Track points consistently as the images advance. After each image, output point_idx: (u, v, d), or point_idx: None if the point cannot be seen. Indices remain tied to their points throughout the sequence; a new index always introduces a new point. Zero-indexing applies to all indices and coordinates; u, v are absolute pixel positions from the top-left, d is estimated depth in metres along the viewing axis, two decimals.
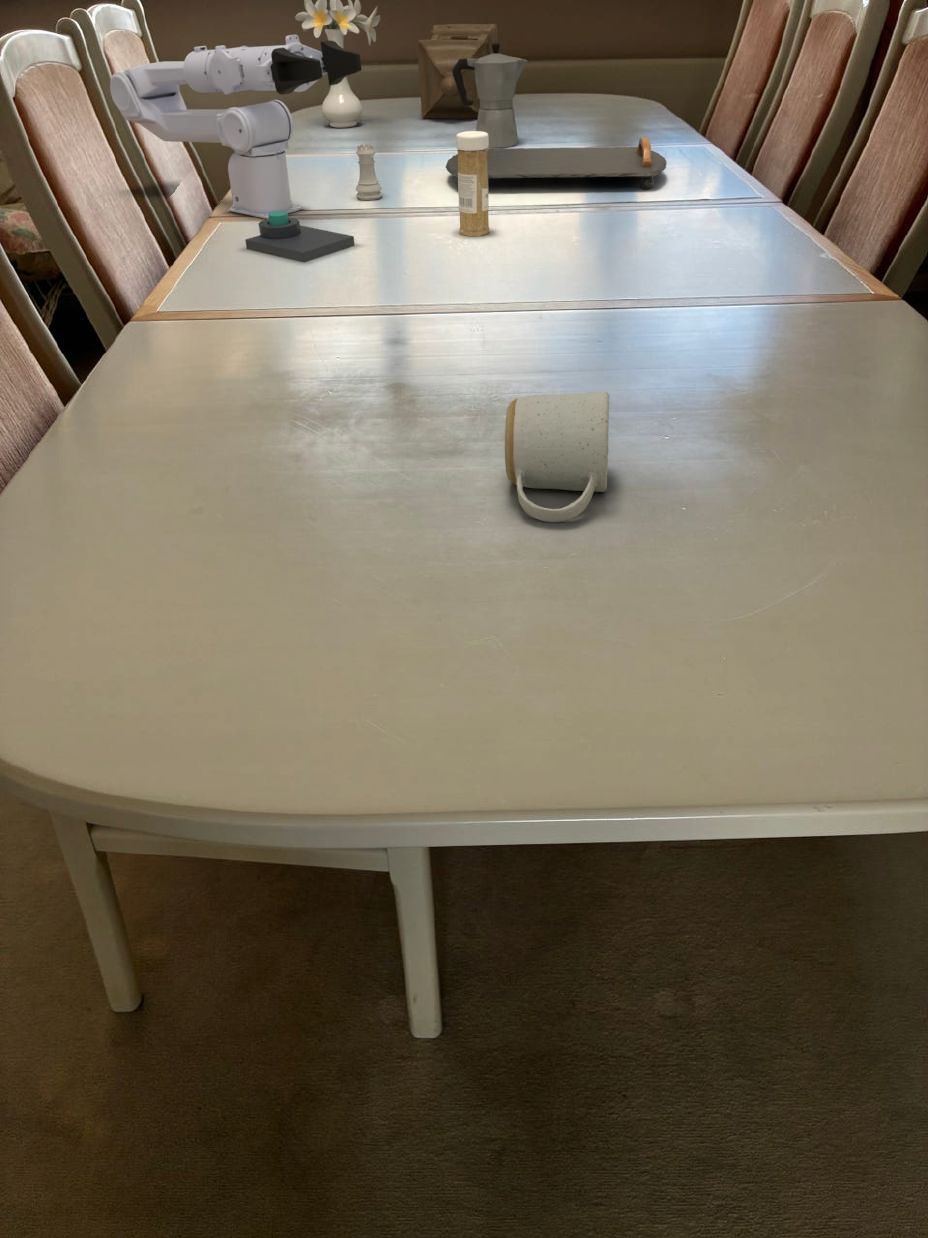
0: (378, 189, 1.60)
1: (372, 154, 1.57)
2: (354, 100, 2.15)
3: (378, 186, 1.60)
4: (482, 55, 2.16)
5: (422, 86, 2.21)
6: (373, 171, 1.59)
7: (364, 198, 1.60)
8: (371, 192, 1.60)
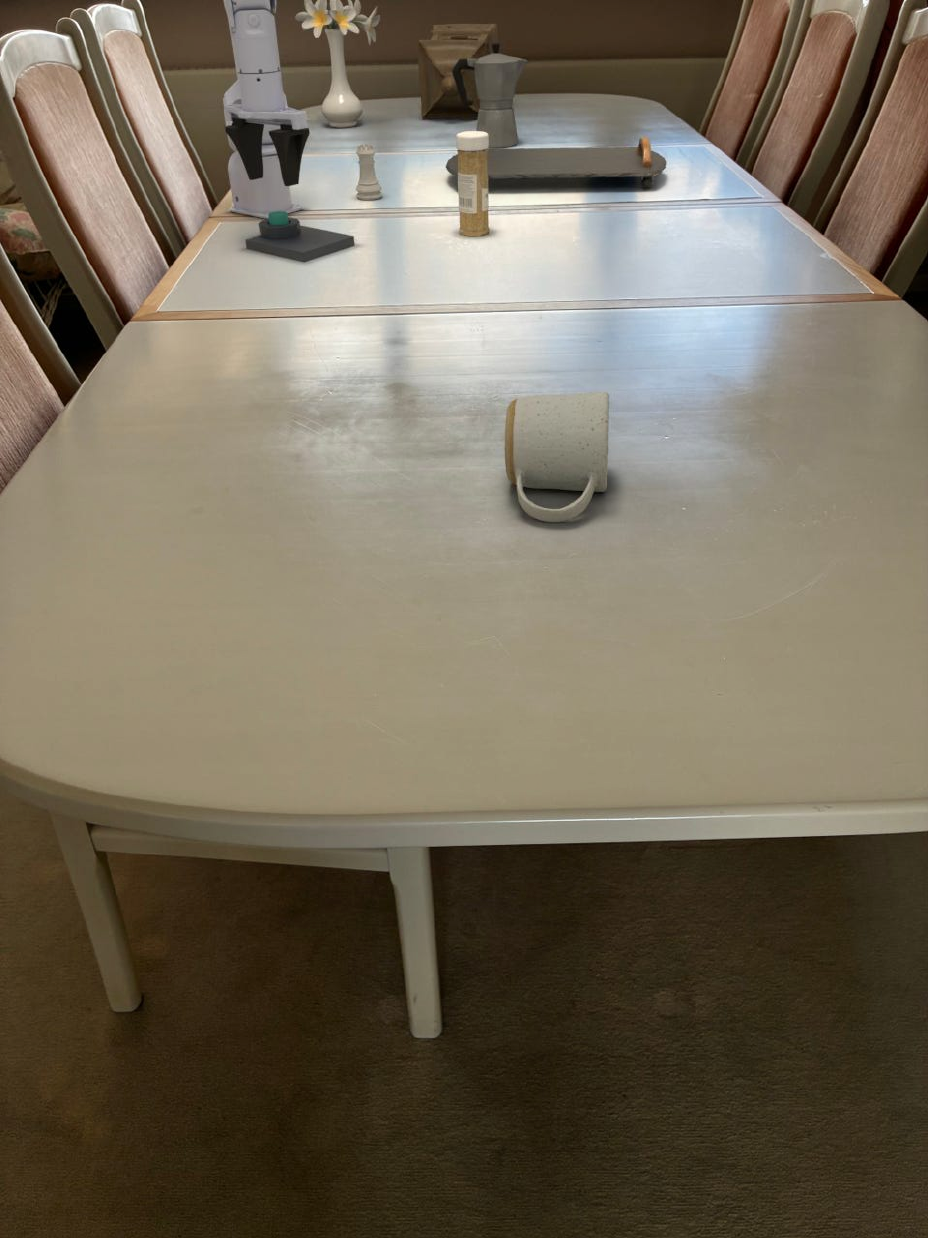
0: (378, 189, 1.60)
1: (372, 154, 1.57)
2: (354, 100, 2.15)
3: (378, 186, 1.60)
4: (482, 55, 2.16)
5: (422, 86, 2.21)
6: (373, 171, 1.59)
7: (364, 198, 1.60)
8: (371, 192, 1.60)
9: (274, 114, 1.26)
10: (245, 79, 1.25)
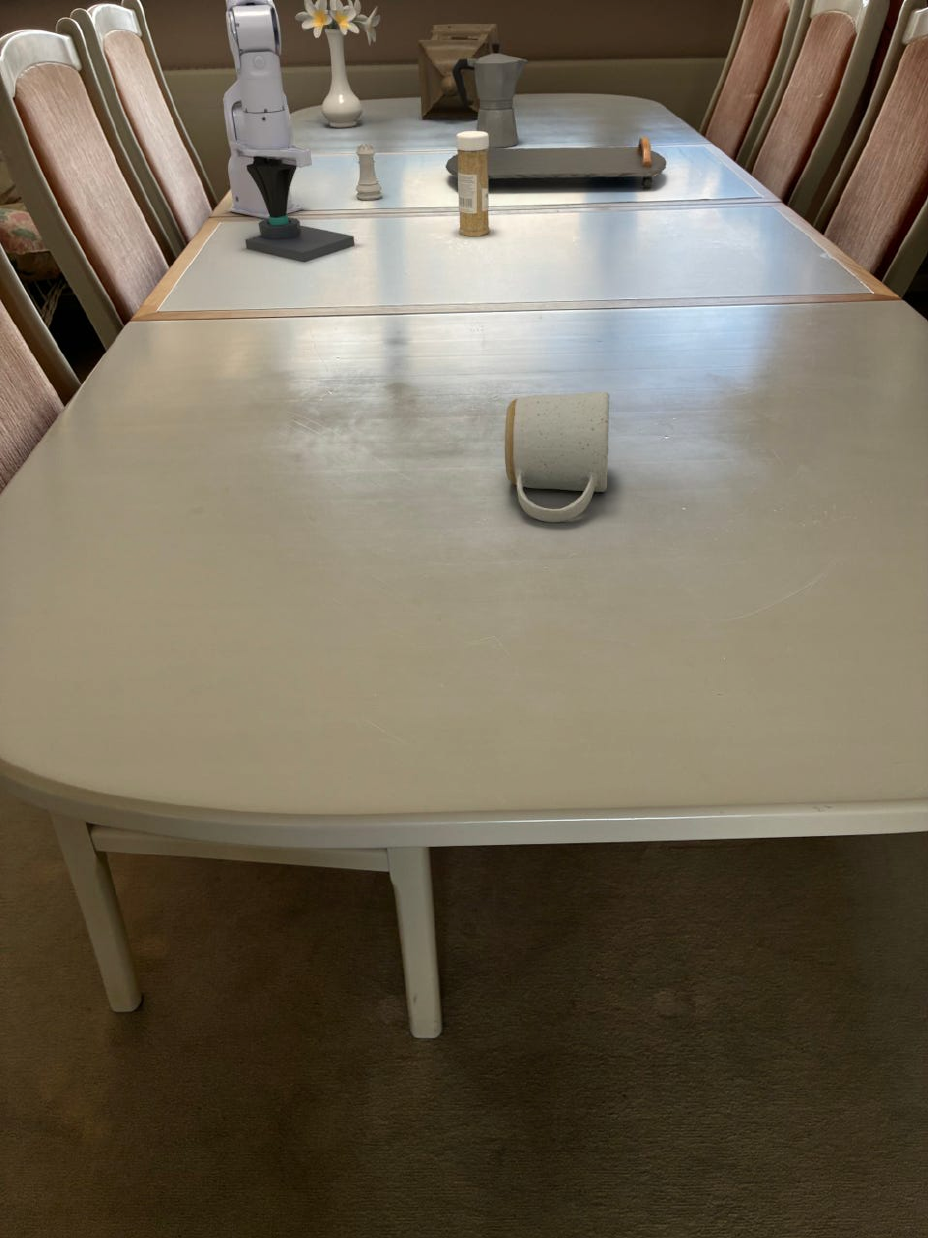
0: (378, 189, 1.60)
1: (372, 154, 1.57)
2: (354, 100, 2.15)
3: (378, 186, 1.60)
4: (482, 55, 2.16)
5: (422, 86, 2.21)
6: (373, 171, 1.59)
7: (364, 198, 1.60)
8: (371, 192, 1.60)
9: (279, 152, 1.29)
10: (250, 118, 1.28)
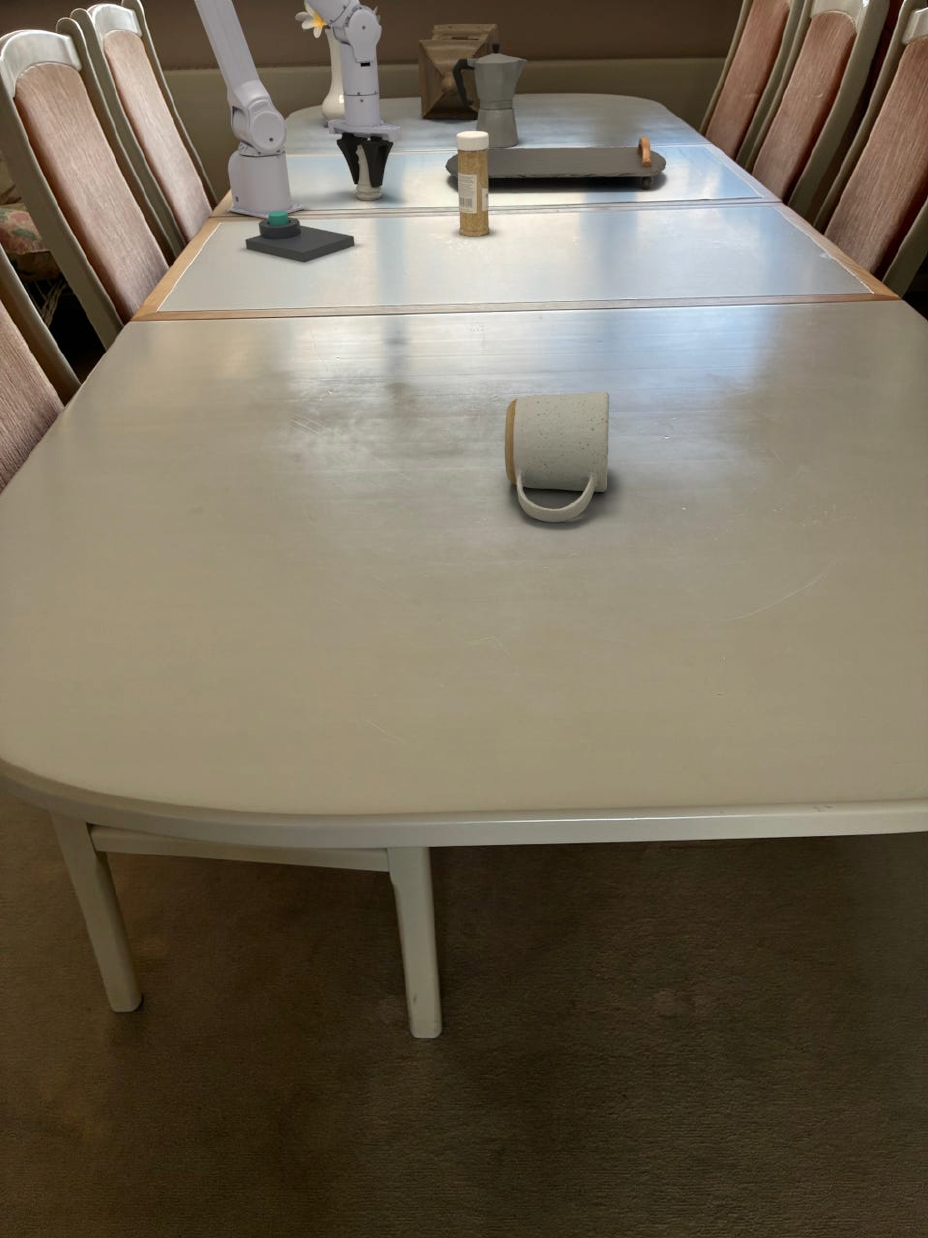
0: (378, 189, 1.60)
1: None
2: None
3: None
4: (482, 55, 2.15)
5: (422, 86, 2.21)
6: None
7: (364, 198, 1.60)
8: (371, 192, 1.60)
9: None
10: None
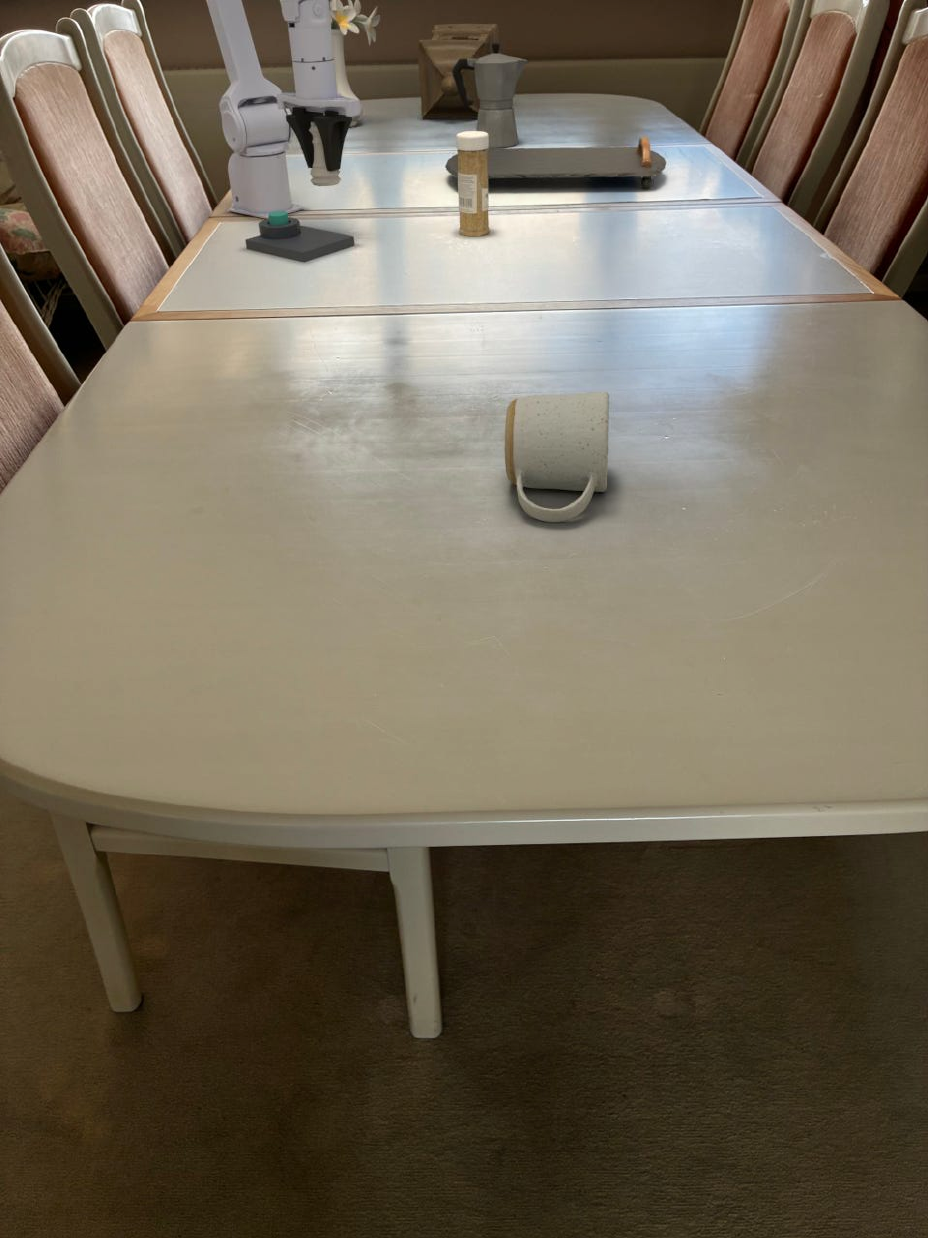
0: (336, 173, 1.38)
1: None
2: None
3: None
4: (482, 55, 2.15)
5: (422, 86, 2.21)
6: None
7: (320, 183, 1.38)
8: (328, 177, 1.37)
9: None
10: None
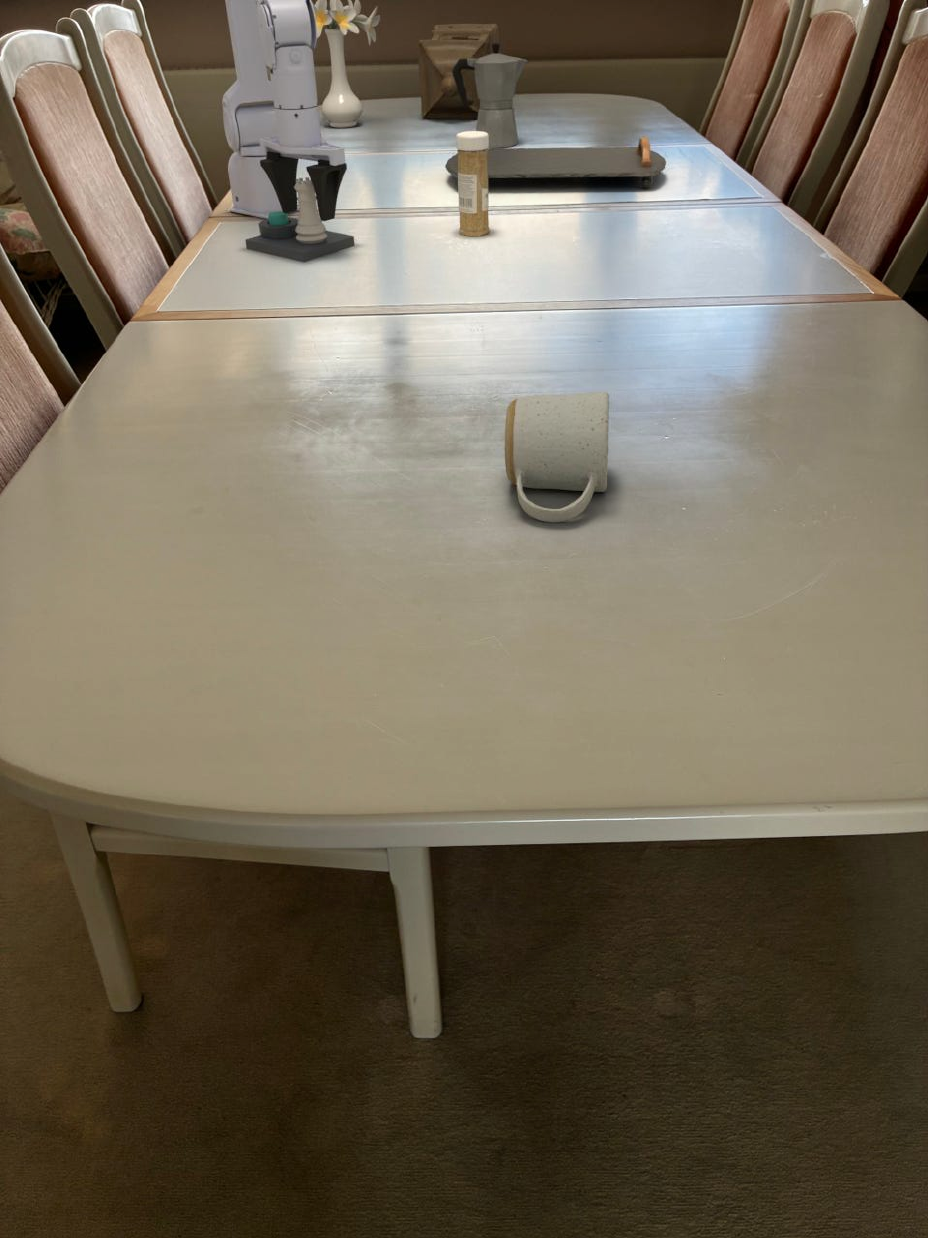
0: (322, 231, 1.34)
1: (313, 189, 1.31)
2: (354, 100, 2.15)
3: (322, 227, 1.34)
4: (482, 55, 2.15)
5: (422, 86, 2.21)
6: (315, 209, 1.33)
7: (305, 241, 1.34)
8: (313, 235, 1.34)
9: None
10: None
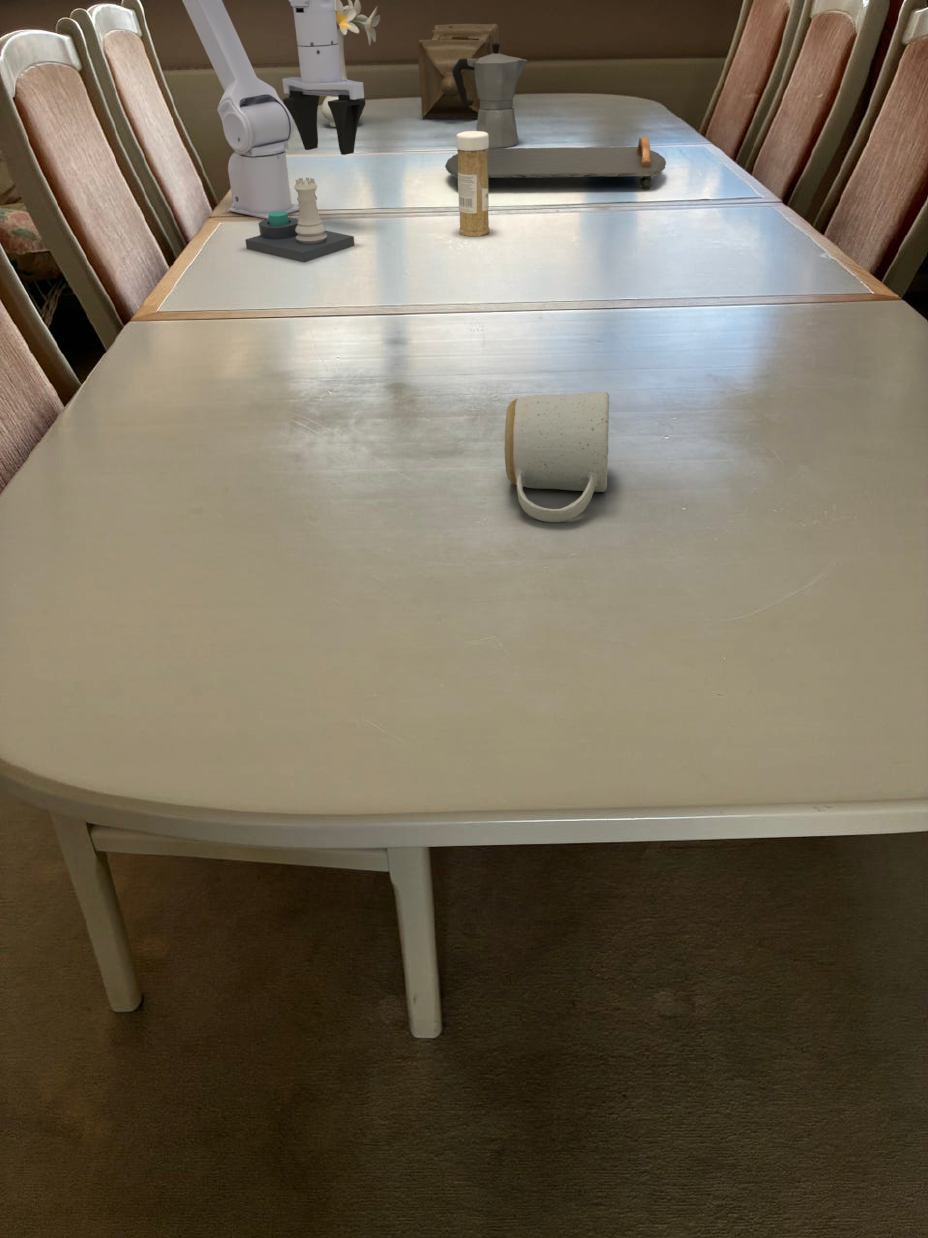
0: (322, 231, 1.34)
1: (313, 189, 1.31)
2: None
3: (322, 227, 1.34)
4: (482, 55, 2.15)
5: (422, 86, 2.21)
6: (315, 209, 1.33)
7: (305, 241, 1.34)
8: (313, 235, 1.34)
9: None
10: None
